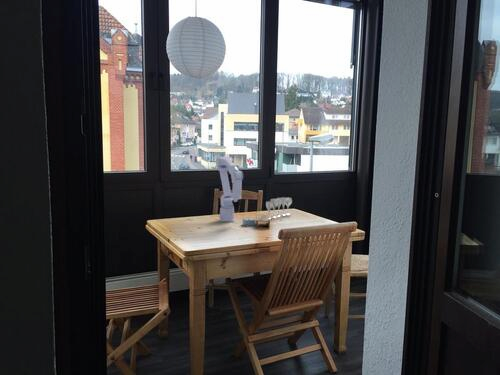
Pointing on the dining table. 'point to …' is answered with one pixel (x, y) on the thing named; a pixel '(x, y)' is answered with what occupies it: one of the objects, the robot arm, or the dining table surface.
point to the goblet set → (278, 204)
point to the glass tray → (249, 222)
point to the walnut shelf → (262, 219)
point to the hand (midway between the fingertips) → (236, 211)
